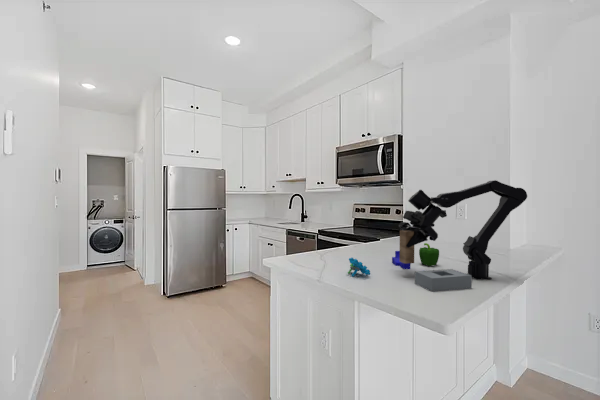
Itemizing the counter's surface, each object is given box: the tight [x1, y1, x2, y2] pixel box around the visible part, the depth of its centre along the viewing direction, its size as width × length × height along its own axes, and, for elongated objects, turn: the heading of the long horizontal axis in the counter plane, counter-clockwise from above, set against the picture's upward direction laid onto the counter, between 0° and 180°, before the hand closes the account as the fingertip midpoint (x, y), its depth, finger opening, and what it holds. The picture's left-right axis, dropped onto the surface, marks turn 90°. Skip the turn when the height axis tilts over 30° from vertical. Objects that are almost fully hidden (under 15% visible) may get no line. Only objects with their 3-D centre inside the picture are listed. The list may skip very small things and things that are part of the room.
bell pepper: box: [418, 242, 440, 267], centre depth 139 cm, size 8×8×10 cm
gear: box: [347, 257, 371, 277], centre depth 120 cm, size 11×6×10 cm
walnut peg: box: [399, 230, 415, 264], centre depth 119 cm, size 4×4×12 cm
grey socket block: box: [414, 268, 473, 293], centre depth 107 cm, size 16×10×4 cm, turn 104°
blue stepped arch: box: [391, 250, 412, 270], centre depth 137 cm, size 12×4×6 cm, turn 179°
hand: (403, 245), depth 118 cm, fingers closed on walnut peg, 4 cm apart
